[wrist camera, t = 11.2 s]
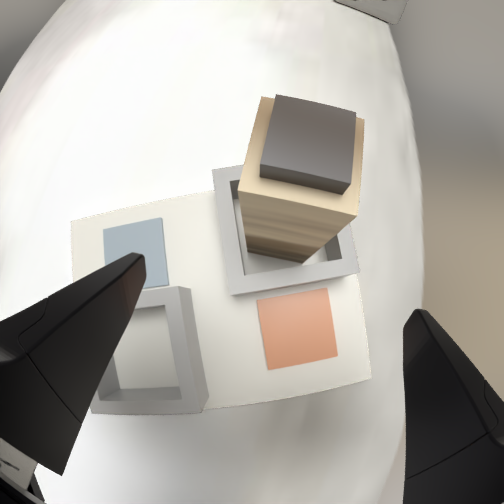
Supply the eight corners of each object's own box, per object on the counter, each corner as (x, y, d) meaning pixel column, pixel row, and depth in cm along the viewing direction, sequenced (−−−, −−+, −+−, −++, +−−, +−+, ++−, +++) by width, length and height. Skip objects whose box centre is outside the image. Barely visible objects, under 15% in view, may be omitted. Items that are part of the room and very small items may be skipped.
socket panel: (367, 375, 21) (390, 389, 16) (100, 407, 20) (74, 423, 16) (330, 178, 23) (345, 152, 19) (77, 224, 23) (48, 209, 19)
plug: (302, 263, 21) (367, 206, 8) (247, 252, 21) (235, 178, 9) (311, 210, 22) (372, 104, 9) (258, 199, 22) (261, 79, 9)
